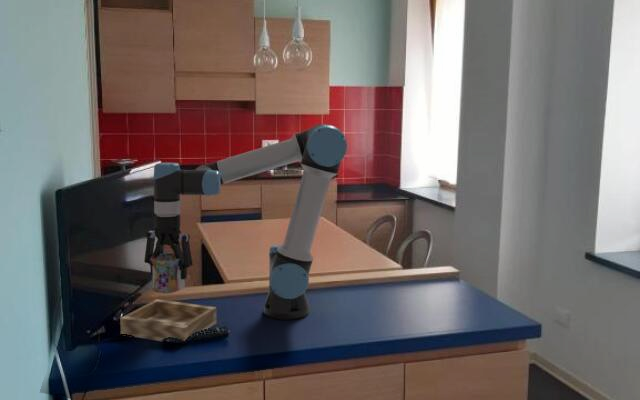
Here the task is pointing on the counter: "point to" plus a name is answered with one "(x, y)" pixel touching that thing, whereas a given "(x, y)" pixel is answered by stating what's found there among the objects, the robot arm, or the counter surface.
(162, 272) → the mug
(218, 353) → the counter surface
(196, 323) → the wooden tray
